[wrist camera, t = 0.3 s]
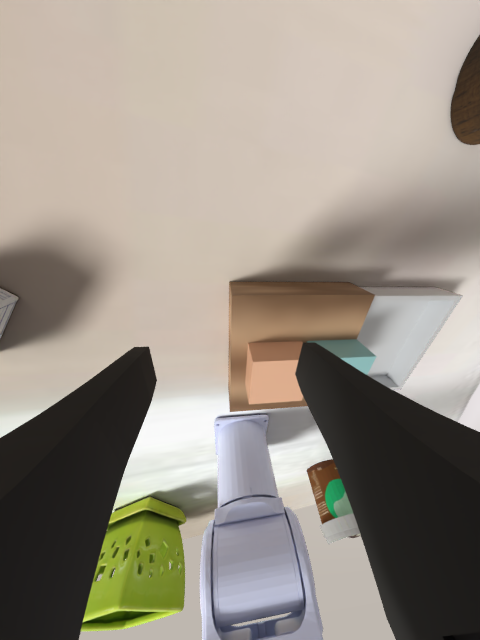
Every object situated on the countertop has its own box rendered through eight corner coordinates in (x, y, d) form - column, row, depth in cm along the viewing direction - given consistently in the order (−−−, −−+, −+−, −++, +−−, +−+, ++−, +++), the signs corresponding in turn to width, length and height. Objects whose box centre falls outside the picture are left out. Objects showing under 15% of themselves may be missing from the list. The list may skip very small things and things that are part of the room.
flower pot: (194, 506, 41) (186, 612, 30) (147, 525, 44) (123, 629, 32) (149, 488, 35) (117, 614, 24) (96, 511, 37) (44, 635, 26)
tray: (385, 375, 26) (400, 389, 24) (320, 378, 25) (330, 394, 23) (435, 287, 20) (462, 295, 17) (351, 287, 19) (369, 296, 16)
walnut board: (315, 381, 25) (329, 404, 22) (228, 387, 24) (230, 411, 21) (348, 282, 18) (375, 294, 15) (229, 281, 17) (232, 295, 14)
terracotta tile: (292, 379, 19) (301, 400, 17) (245, 382, 19) (248, 404, 16) (301, 341, 17) (314, 359, 15) (247, 342, 16) (252, 361, 14)
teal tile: (340, 377, 20) (356, 396, 18) (296, 379, 19) (306, 400, 17) (356, 339, 17) (376, 356, 15) (306, 340, 17) (320, 358, 15)
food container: (364, 458, 39) (406, 528, 30) (346, 472, 41) (380, 541, 32) (317, 453, 35) (349, 531, 26) (300, 469, 38) (325, 544, 29)
